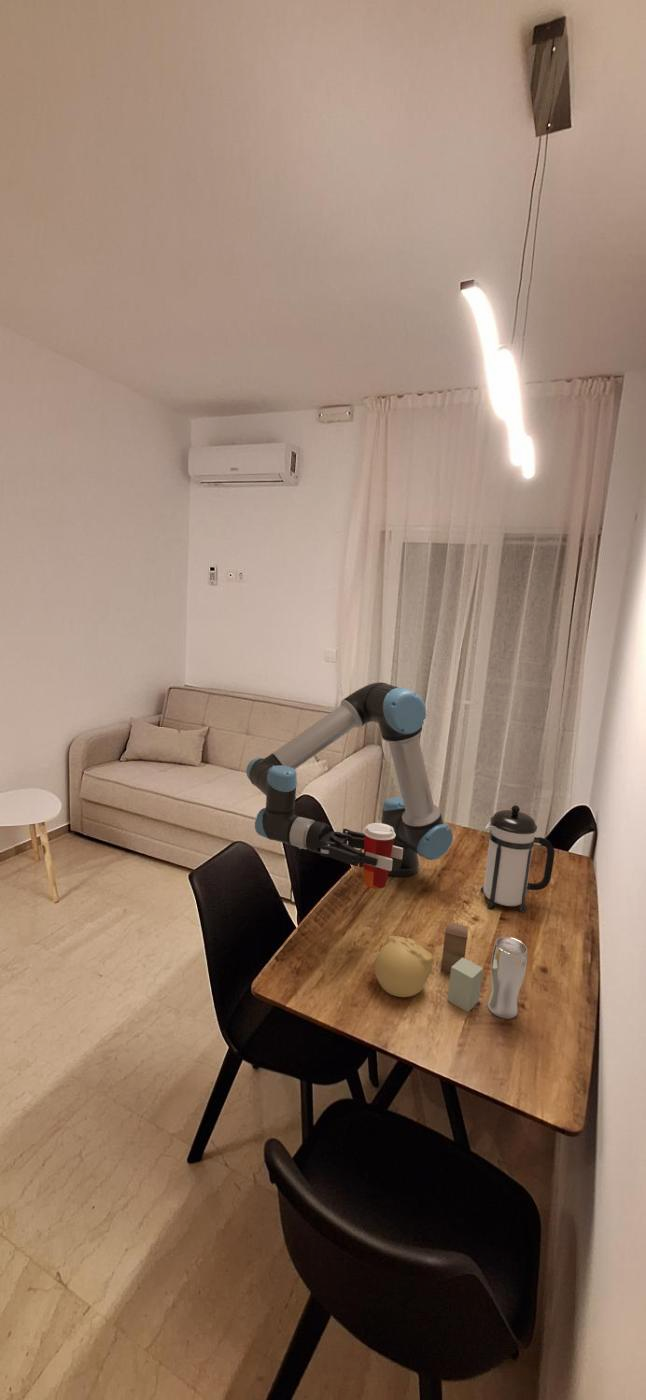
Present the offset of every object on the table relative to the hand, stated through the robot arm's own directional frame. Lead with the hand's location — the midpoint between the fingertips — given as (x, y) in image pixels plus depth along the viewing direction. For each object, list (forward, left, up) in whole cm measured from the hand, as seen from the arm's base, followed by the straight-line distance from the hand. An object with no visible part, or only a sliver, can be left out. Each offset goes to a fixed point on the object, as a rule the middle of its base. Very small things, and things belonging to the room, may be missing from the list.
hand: (396, 859), depth 133 cm
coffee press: (-45, +21, -25) cm, 56 cm away
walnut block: (-4, +15, -25) cm, 29 cm away
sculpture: (+9, +7, -25) cm, 28 cm away
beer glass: (+4, +28, -25) cm, 38 cm away
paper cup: (0, -5, -8) cm, 9 cm away
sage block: (+6, +20, -25) cm, 33 cm away
